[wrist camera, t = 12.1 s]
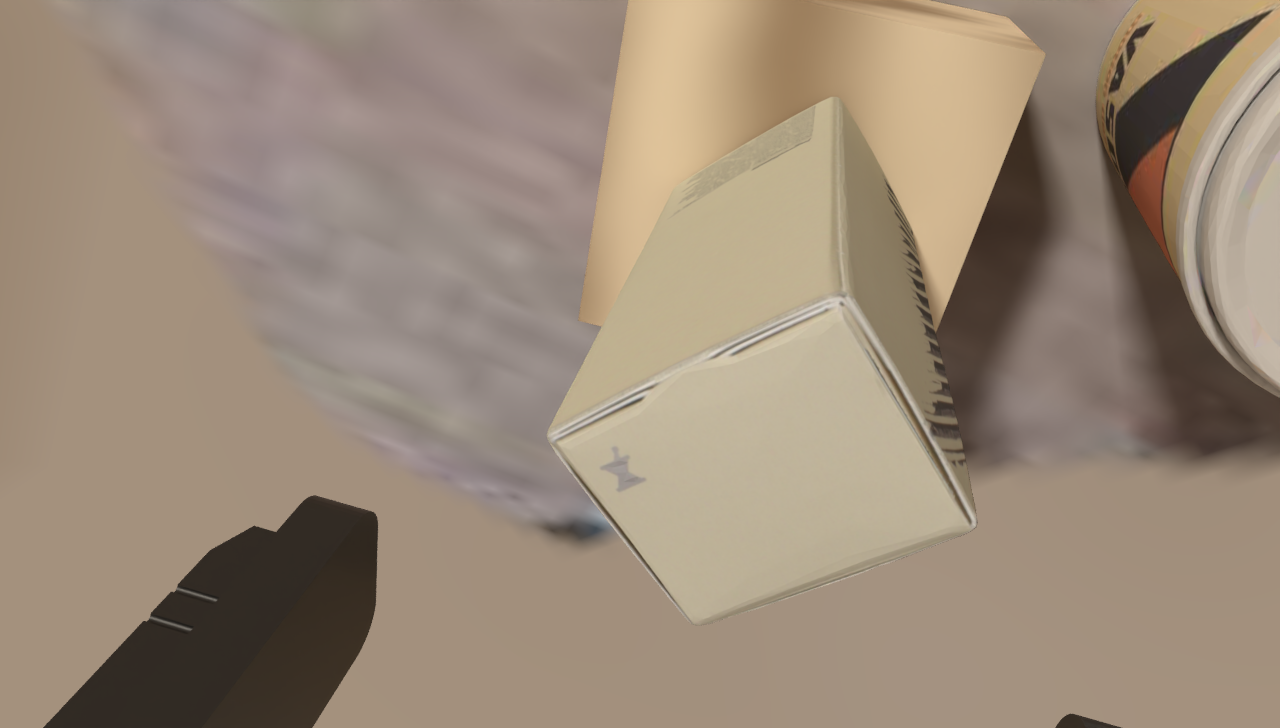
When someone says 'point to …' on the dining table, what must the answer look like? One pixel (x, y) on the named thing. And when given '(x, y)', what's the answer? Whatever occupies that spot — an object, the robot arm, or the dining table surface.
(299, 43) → the dining table surface
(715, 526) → the box
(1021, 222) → the dining table surface
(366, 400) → the dining table surface
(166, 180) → the dining table surface
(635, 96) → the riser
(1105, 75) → the coffee cup
